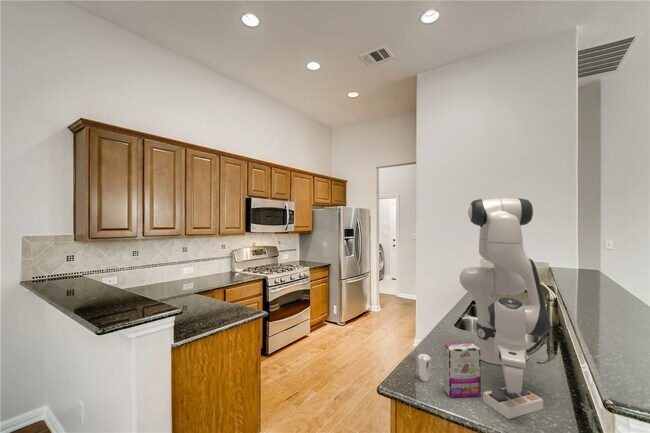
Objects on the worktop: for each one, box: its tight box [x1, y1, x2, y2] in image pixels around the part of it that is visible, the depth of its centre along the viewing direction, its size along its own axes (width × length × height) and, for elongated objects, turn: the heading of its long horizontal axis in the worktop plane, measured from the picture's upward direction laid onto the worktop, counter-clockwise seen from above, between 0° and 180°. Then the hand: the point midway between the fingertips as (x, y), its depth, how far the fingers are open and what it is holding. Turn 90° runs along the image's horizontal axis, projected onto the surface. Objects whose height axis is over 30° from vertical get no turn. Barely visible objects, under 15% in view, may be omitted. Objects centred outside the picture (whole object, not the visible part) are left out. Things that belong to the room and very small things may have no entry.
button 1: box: [491, 387, 505, 402], centre depth 95 cm, size 4×4×3 cm
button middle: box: [504, 389, 517, 399], centre depth 96 cm, size 4×4×3 cm
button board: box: [482, 386, 544, 420], centre depth 95 cm, size 15×9×3 cm, turn 109°
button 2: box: [519, 386, 529, 396], centre depth 98 cm, size 4×4×3 cm
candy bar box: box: [442, 342, 482, 399], centre depth 102 cm, size 11×5×16 cm, turn 94°
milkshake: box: [417, 353, 432, 382], centre depth 110 cm, size 4×5×10 cm
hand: (509, 391), depth 96 cm, fingers closed
